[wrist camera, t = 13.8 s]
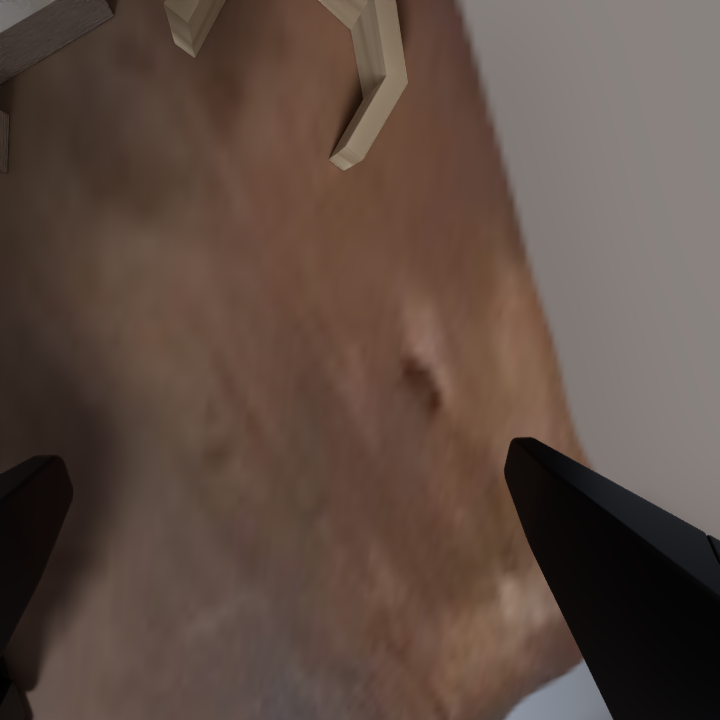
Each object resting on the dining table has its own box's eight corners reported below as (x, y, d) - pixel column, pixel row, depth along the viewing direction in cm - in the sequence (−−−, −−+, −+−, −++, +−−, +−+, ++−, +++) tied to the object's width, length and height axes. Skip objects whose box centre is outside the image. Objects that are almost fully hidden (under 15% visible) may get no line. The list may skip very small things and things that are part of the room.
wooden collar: (343, 171, 19) (363, 160, 16) (174, 42, 16) (162, 3, 14) (409, 58, 19) (441, 27, 16) (247, -96, 16) (250, -167, 13)
